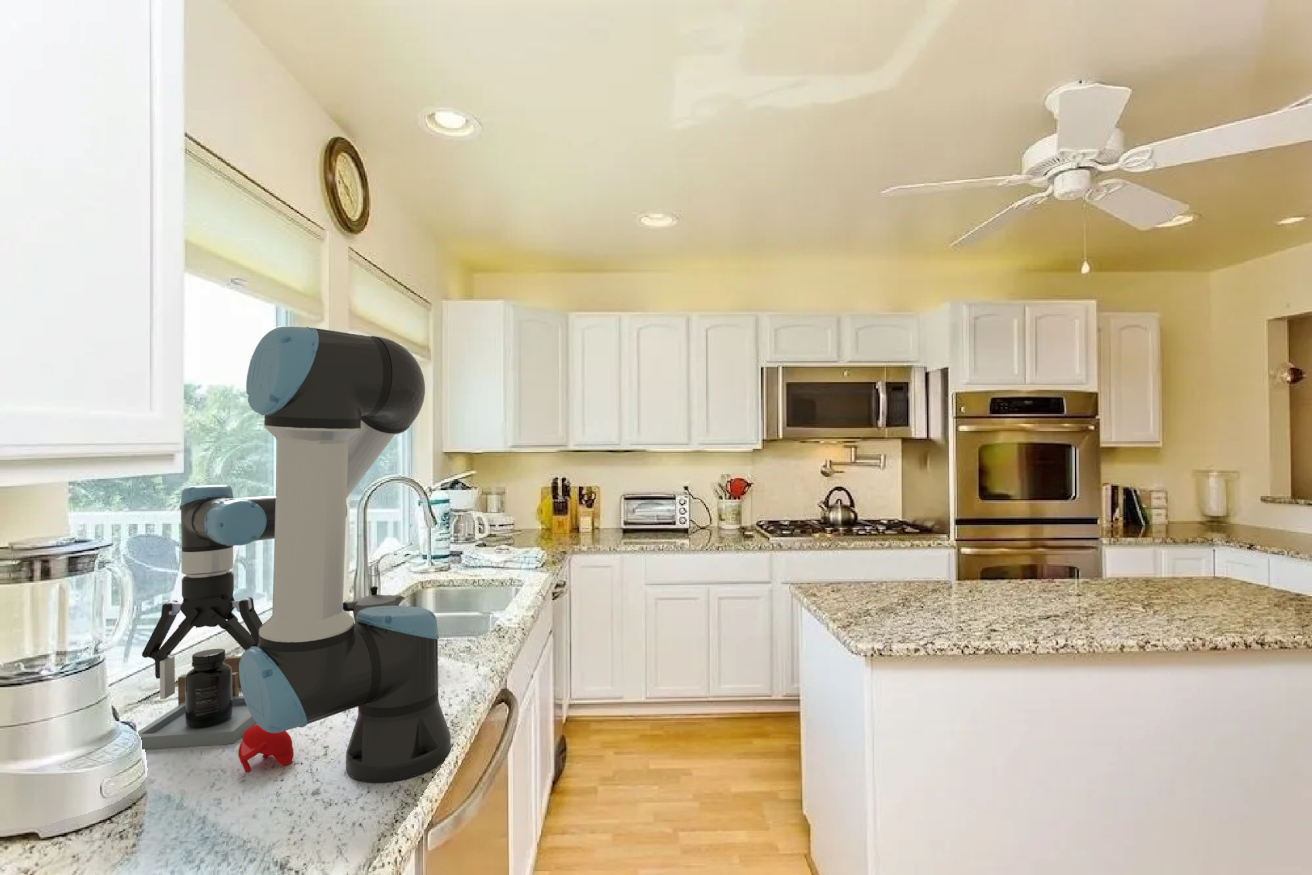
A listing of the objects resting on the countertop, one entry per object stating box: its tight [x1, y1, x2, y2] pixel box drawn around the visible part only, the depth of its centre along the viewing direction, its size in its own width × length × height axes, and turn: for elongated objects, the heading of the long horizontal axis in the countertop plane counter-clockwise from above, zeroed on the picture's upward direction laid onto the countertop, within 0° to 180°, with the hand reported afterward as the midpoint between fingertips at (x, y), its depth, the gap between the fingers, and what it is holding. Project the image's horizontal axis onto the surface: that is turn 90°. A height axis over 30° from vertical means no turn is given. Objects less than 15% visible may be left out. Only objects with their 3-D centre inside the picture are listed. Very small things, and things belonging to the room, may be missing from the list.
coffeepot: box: [343, 585, 405, 624], centre depth 139 cm, size 15×9×18 cm, turn 134°
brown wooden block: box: [177, 655, 242, 706], centre depth 125 cm, size 11×10×6 cm
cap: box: [238, 724, 294, 773], centre depth 98 cm, size 8×6×6 cm
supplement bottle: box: [185, 648, 233, 728], centre depth 112 cm, size 7×7×12 cm
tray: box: [137, 695, 257, 750], centre depth 112 cm, size 16×16×2 cm
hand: (209, 693), depth 112 cm, fingers open, 13 cm apart
